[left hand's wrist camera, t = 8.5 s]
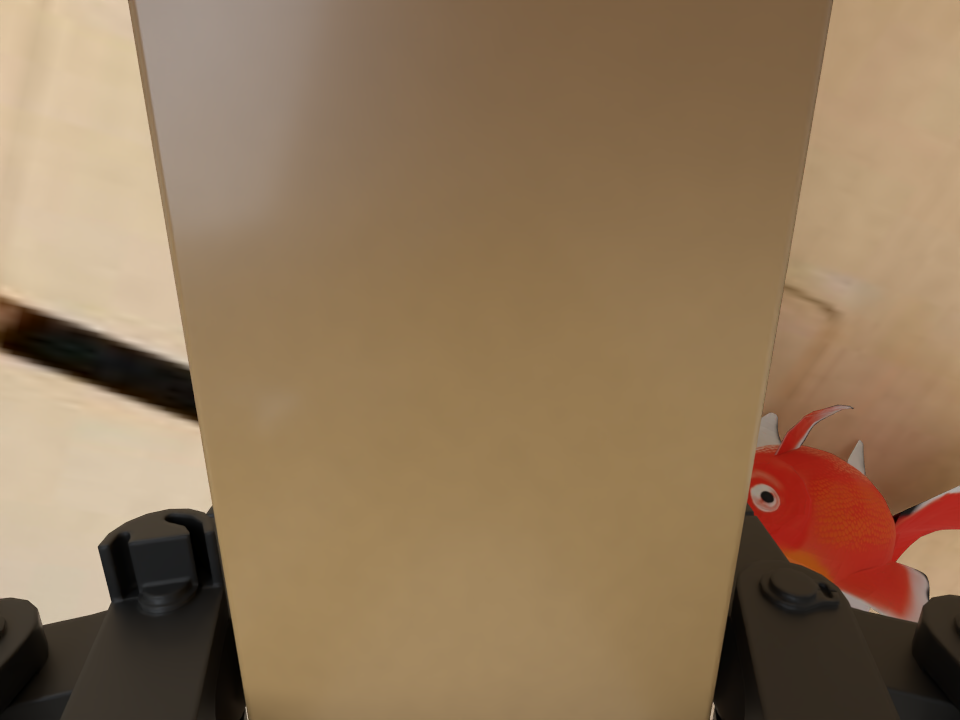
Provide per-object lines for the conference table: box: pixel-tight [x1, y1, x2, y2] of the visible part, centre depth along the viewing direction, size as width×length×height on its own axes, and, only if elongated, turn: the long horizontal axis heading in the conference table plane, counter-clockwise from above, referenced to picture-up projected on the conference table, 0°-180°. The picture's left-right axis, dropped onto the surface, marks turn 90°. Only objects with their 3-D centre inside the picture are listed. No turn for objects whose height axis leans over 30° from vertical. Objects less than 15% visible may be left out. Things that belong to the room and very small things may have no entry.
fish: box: [747, 405, 960, 623], centre depth 25 cm, size 11×16×10 cm
